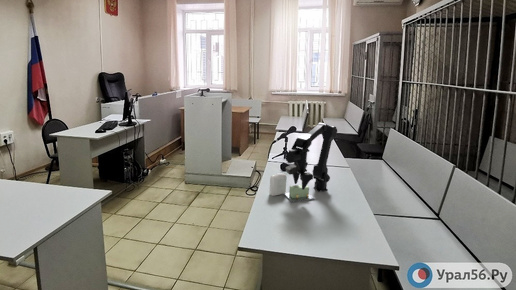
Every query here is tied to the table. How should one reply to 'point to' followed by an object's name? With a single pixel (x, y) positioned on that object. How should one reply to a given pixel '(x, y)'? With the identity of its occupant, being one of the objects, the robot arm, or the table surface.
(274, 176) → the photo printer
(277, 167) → the table surface
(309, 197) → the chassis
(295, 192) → the block
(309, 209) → the table surface
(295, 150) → the robot arm
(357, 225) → the table surface
